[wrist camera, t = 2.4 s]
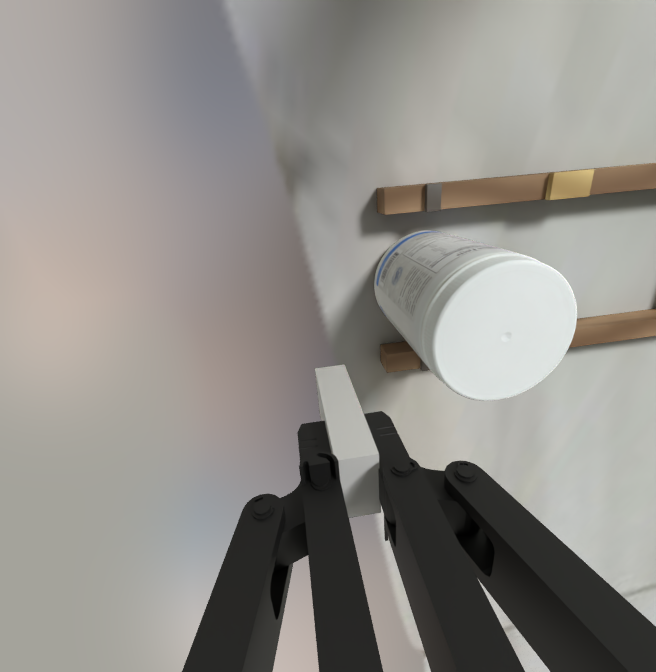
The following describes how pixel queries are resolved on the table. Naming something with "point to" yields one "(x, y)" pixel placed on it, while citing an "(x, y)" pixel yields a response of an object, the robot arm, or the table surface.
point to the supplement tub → (476, 312)
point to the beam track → (517, 191)
